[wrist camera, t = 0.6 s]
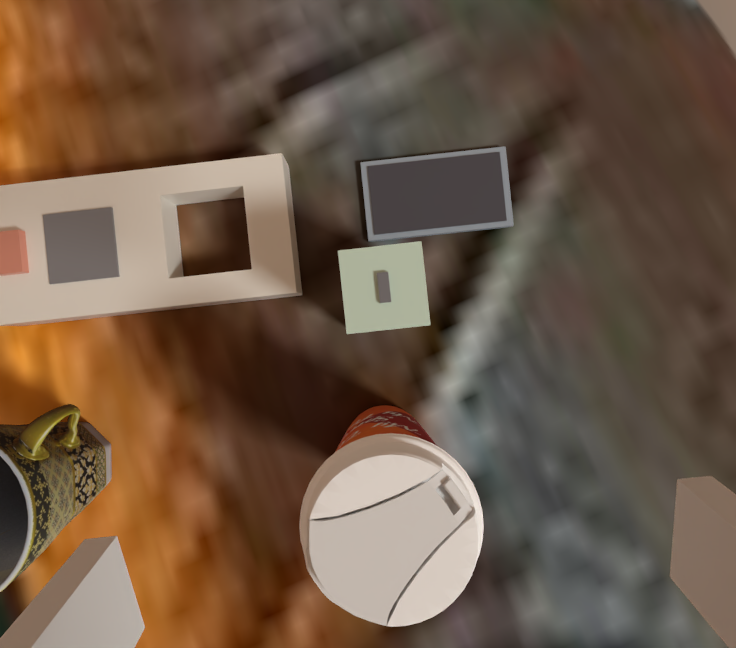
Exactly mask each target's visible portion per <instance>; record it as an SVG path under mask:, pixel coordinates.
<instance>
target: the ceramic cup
mask: <svg viewBox="0 0 736 648" xmlns="http://www.w3.org/2000/svg"><path fill="white" fill-rule="evenodd" d="M68 415H69V417H68V421H67V422H60V421H61V420H62V419H63V418H64V417H66V416H68ZM79 417H80V410H79V409H78V408H77V407H76V406H74V405H72V404H68V405H64V406H61V407H58V408H56V409H53V410H51V411H49V412H47V413H45V414H43V415H42V416H40V417H38V418H37V419H35V420H34V421H33V422H31V423H30V424H27V425H0V592H1V591H2V590H3V589H5V588H6V587H7V586H8V585H9V584H10V583H11V582H12V581H13V580H15V579H16V578H17V577H18V576H19V575H20V574H21V573H22V572H23V571H24V570H25V569H26V568H27V567H28V566H29V565H30V564H31V563H32V562H33V561H34V560H35V559H36V558H37V557H38V556H39V555H40V554H41V553H42V552H43V551H44V550H45V549H46V548H47V547H48V546H49V545H50V543H51V542H52V541H53V540H54V539H55V538H56V536H57V535H58V534H59V533H60V531H61V530H62V529H63V528H64V527H65V526H66V525H67V524H68V523H69V522H70V521H71V520H72V519H74V518H75V517H76V516H77V515H78V514H79V513H80V512H81V511H82V510H83V509H84V508H85V507H86V506H87V505H88V504H89V503H90V502H91V501H92V500H93V499H94V498H95V497H96V496H97V495H98V494H99V493H100V492H101V491H102V490H103V489H104V488H105V487H106V486H107V484H108V483H109V482H110V481H111V444H110V443H109V442H108V441H107V440H106V439H105V438H104V437H103V436H102V435H101V434H100V433H99V432H98V431H97V430H96V429H95V428H94V427H93V426H92V425H91V424H90V423H87V422H78V420H79Z"/></svg>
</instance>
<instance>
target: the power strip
mask: <svg viewBox="0 0 736 648" xmlns="http://www.w3.org/2000/svg"><path fill="white" fill-rule="evenodd" d="M235 198H244V200H245V210H246V219H247V229H248V238H249V248H250V257H251V267H252V269H250V270H241V271H232V272H223V273H214V274H205V275H195V276H186V277H184V275H183V266H182V256H181V246H180V237H179V227H178V217H177V208H176V205H182V204H191V203H200V202H209V201H217V200H226V199H235ZM300 295H302V286H301V277H300V267H299V258H298V248H297V239H296V229H295V220H294V211H293V201H292V192H291V182H290V173H289V166H288V164H287V162H286V160H285V158H284V157H283V155H282V153H279V154H271V155H262V156H253V157H245V158H236V159H227V160H219V161H210V162H201V163H192V164H184V165H175V166H166V167H158V168H149V169H140V170H132V171H123V172H114V173H105V174H97V175H88V176H79V177H71V178H62V179H53V180H45V181H36V182H27V183H19V184H10V185H1V186H0V326H26V325H35V324H44V323H53V322H62V321H72V320H81V319H90V318H99V317H108V316H117V315H127V314H136V313H145V312H154V311H163V310H172V309H181V308H191V307H200V306H209V305H218V304H227V303H236V302H246V301H255V300H264V299H273V298H282V297H291V296H300Z"/></svg>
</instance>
